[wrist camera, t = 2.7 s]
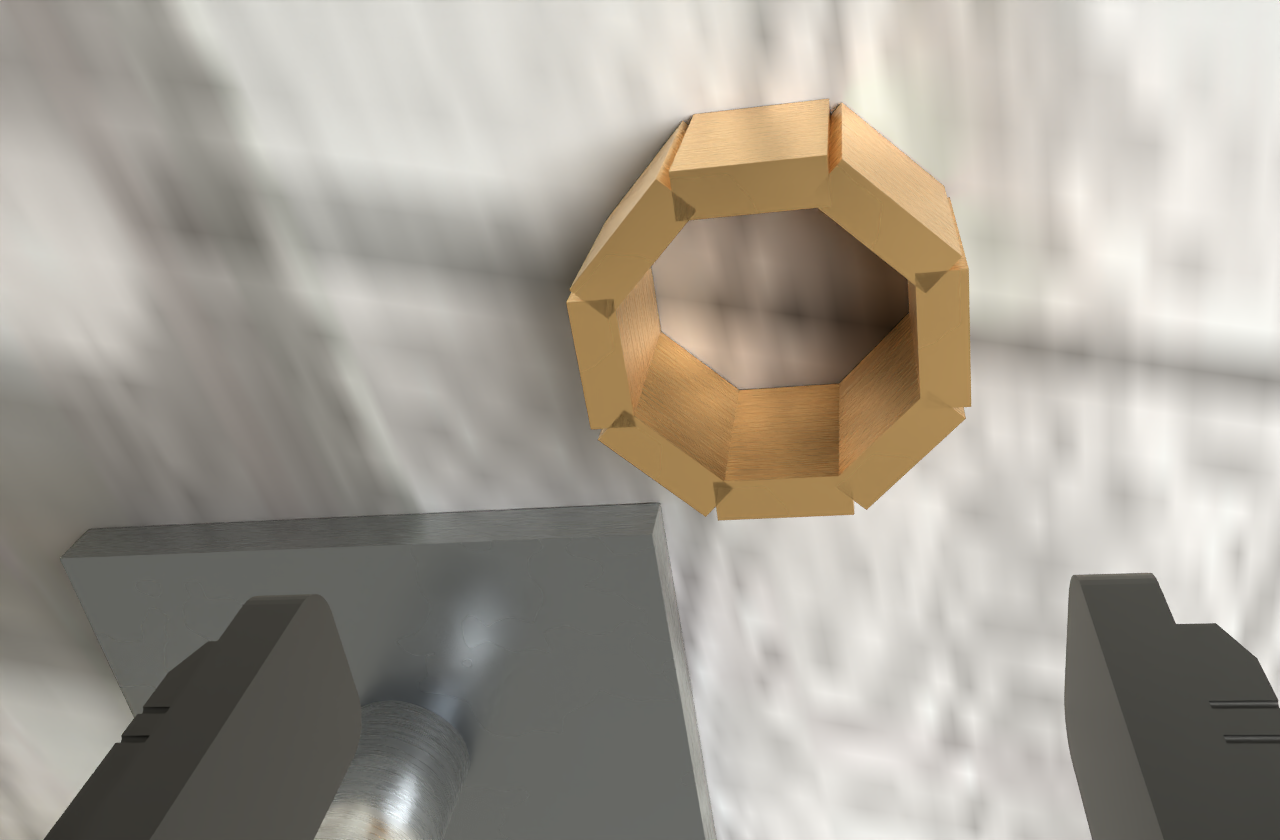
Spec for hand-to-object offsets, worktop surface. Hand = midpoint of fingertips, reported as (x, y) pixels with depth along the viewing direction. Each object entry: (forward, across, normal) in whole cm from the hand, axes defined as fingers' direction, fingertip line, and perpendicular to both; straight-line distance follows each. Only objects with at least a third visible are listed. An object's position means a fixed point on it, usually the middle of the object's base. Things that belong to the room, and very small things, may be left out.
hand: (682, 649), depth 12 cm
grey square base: (+11, +9, +11) cm, 18 cm away
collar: (+11, -1, 0) cm, 11 cm away
